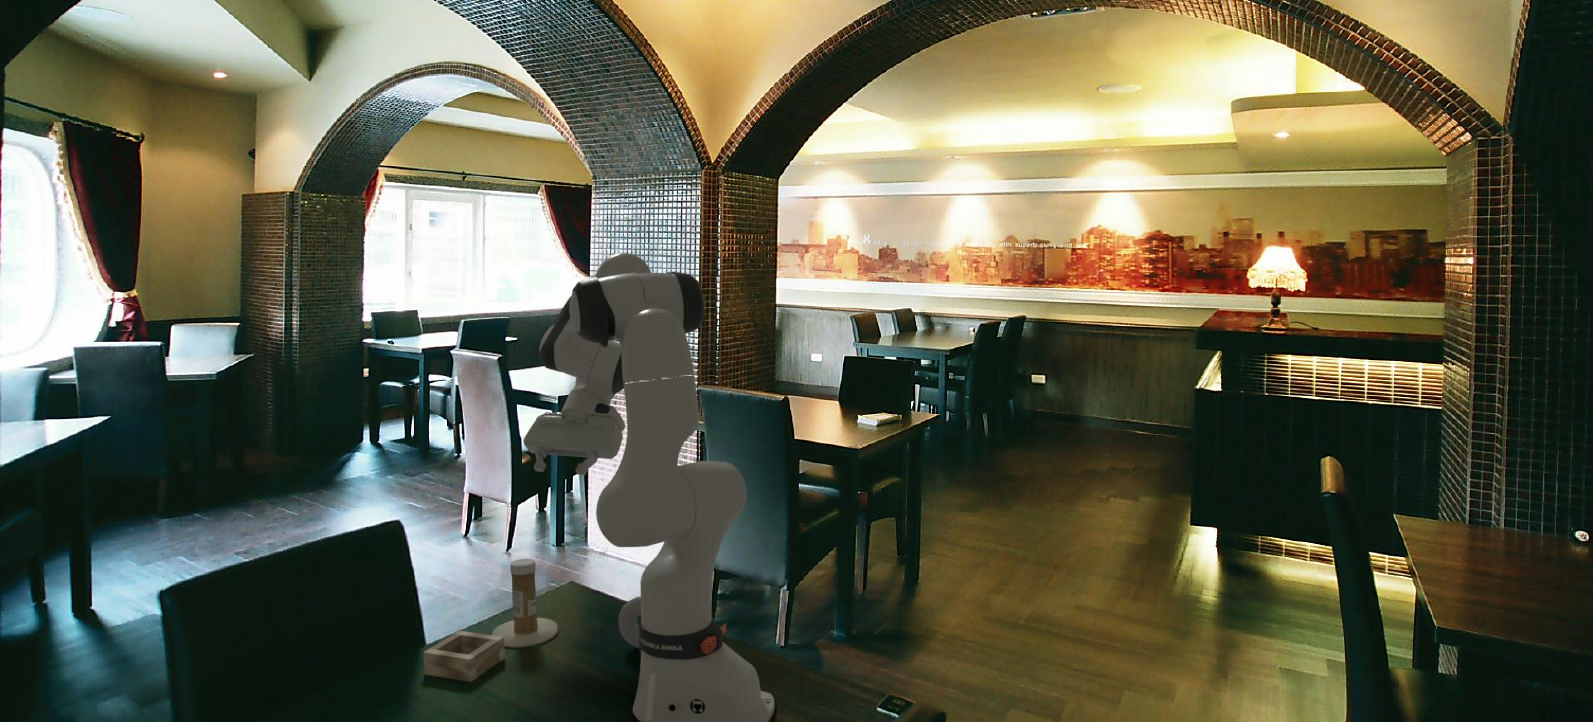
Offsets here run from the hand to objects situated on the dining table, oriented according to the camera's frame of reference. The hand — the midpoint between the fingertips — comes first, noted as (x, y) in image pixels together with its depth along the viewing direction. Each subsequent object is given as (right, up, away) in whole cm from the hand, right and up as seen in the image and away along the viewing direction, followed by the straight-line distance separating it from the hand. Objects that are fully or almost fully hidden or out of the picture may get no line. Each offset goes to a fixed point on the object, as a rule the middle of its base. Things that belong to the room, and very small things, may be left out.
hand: (559, 471), depth 180 cm
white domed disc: (-5, -30, -6) cm, 31 cm away
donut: (+19, -31, -12) cm, 39 cm away
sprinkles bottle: (-5, -30, -6) cm, 31 cm away
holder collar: (-11, -32, -19) cm, 39 cm away
